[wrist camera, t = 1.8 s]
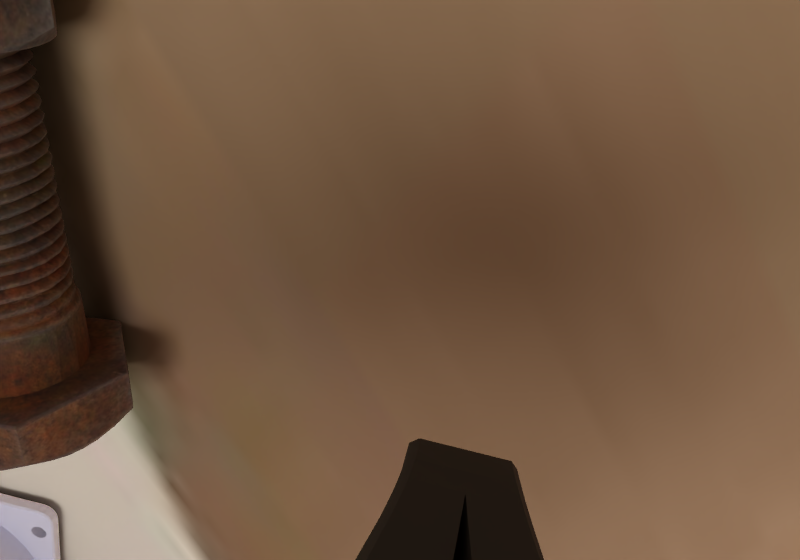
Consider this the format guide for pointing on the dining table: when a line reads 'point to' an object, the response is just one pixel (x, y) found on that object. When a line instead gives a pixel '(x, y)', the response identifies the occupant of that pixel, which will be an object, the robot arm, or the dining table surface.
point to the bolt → (44, 280)
